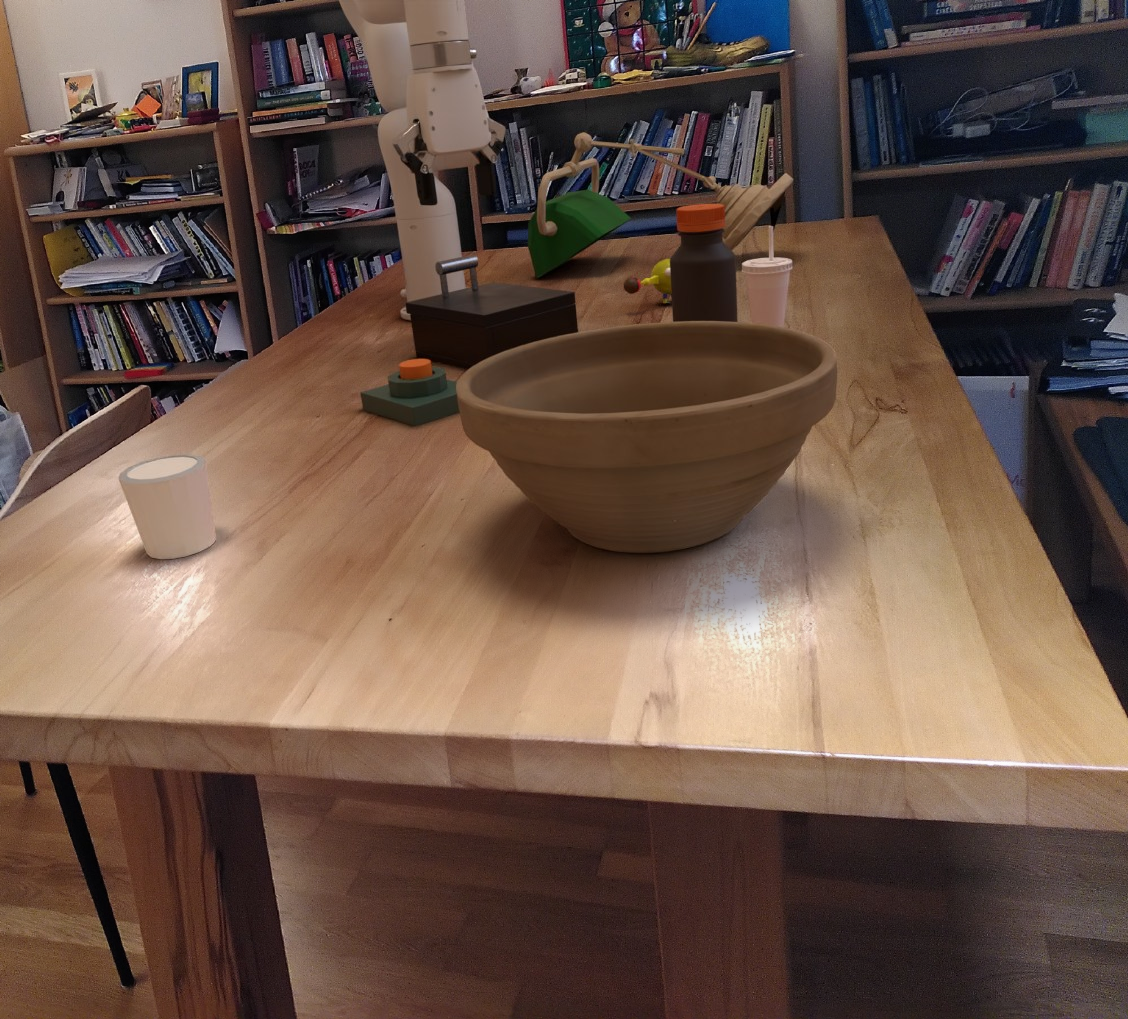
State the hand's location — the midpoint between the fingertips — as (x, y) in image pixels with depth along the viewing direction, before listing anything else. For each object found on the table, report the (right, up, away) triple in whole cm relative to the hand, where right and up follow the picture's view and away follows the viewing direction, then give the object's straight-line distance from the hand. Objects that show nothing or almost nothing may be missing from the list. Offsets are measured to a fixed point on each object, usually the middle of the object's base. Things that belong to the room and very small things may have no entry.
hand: (458, 199), depth 138 cm
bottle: (+30, -29, -24) cm, 48 cm away
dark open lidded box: (+5, -20, +3) cm, 21 cm away
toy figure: (+30, -9, +23) cm, 39 cm away
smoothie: (+41, -19, -2) cm, 45 cm away
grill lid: (+4, -14, +1) cm, 15 cm away
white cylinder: (-18, -44, -50) cm, 69 cm away
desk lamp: (+33, +4, +56) cm, 65 cm away
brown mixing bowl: (+21, -42, -54) cm, 72 cm away
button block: (-2, -29, -18) cm, 35 cm away
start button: (-3, -26, -20) cm, 33 cm away
